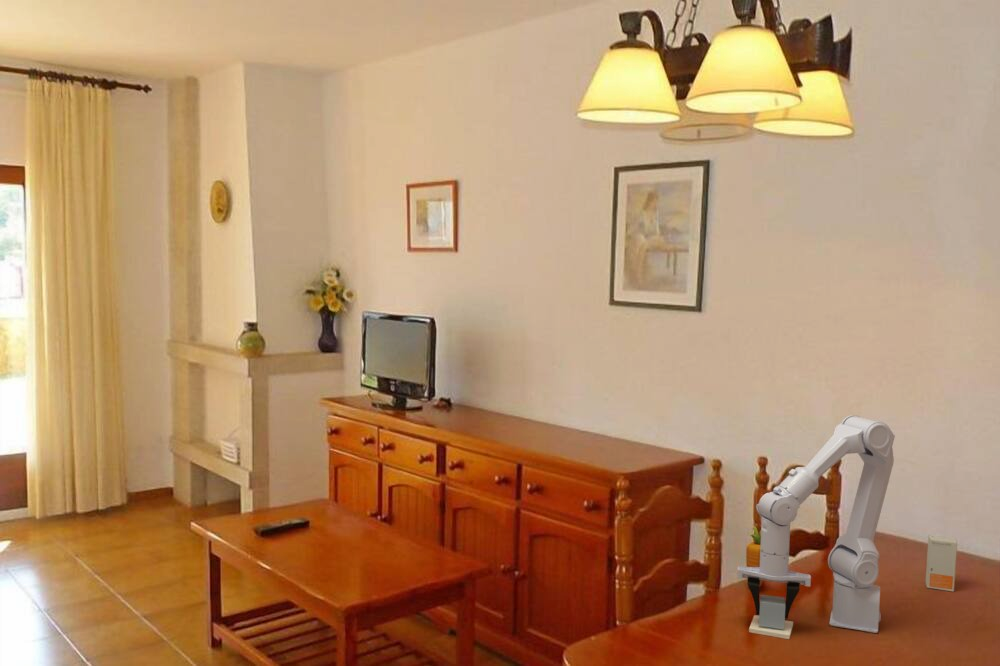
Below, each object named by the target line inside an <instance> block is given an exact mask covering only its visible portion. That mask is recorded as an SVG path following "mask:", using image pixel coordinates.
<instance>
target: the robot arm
mask: <svg viewBox="0 0 1000 666" xmlns="http://www.w3.org/2000/svg"><path fill="white" fill-rule="evenodd" d="M895 438H896V437H895V434H894V432H893V431H892V430H891V428H890V427H889V426H888V424H887V423H886V422H884V421H880V420H879V421H877V420H873V419H869V418H864V417H861V416H859V415H855V414H851V415H848V416H845V418H843V420H842V421H841V423H838V425H836V426H835V428H834V432H833V434H832V435H831V436H830V438H829V439H828V440H827V441H826V443H825V444H824V445H823V446H822V447H821V448H820V449H819V451H817V453H816V454H815V455H814V456H813V457H812V458H811V460H809V462H808V463H807V465H805V466H798V467H795V469H794V468H792V469H790V470H789V471H788V475H787V476H786V477H785V478H784V479H783V481H781V483H780V484H778V485H776V486H774V488H773V491H770V492H766V493H765V494H762V496H761V497H760V499H759V501H758V503H757V504H756V506H755V508H756V512H757V514H758V515H759V516H760V524H761V527H760V528H761V529H760V530H761V546H760V567H747V566H737V573H736V574H737V577H736V578H737V579H740V580H743V579H747V587H748V589H749V591H750V593H751V596H752V599H753V602H754V608H755V615H756V616H759V614H760V590H761V589H760V588H761V586H760V580H763V581H767V582H776V583H786V587H785V589H786V591H785V619H786V620H788V619H789V614H790V611H791V608H792V605H793V603H794V601H795V598H796V597H797V596H798V593H799V592H800V587H801V585H803V586H805V587H809V588H810V587H811V581H812V576H811V574H808V573H802V572H797V571H792V570H789V567H790V564H789V563H790V536H791V523H792V522H794V521H795V520H796V518H797V516H798V510H799V509H800V506H801V505H802V504H803V503H804V502H805V501H806V500H807V499H808V498H809V497H810V496H812V494H813V493H814V492H815V490H817V489H818V488H819V480H820V478H821V477H822V476H823V475H824V474H825V473H827V472H828V471H829V469H831V468H832V467H833V466H835V464H837V463H838V462H839V461H840V460H841V459H842V458H844V457H845V456H846V455H848V454H849V455H851V454H858V456H859V457H860V459H861V460H862V462H863V466H862V470H861V475H860V478H859V481H858V485H857V490H856V493H855V498H854V501H853V504H852V509H851V513H850V516H849V521H848V524H847V528H846V532H845V534H842V535H841V536H839V537H837V539H836V541H835V545H834V546H833V548H832V549H831V550H830V552H829V554H828V557H827V564H828V567H829V569H830V570H831V571H832V572H833V573H832V577H833V579H834V580H833V593H832V594H833V597H832V599H833V600H832V610H831V611H830V616H829V617H830V619H829V625H830V626H831V627H838V628H845V629H850V630H854V631H855V630H856V631H862V632H868V633H875V634H877V633H879V623H880V622H881V617H882V616H881V615H882V614H881V612H880V602H881V601H880V600H881V599H880V598H881V586H880V585H876V584H874V583H875V582H876V581H877V579H878V577H879V573H880V569H879V558H880V552H879V551H878V549H877V547H876V545H875V543H874V540H875V539H874V538H875V535H876V532H877V528H878V524H879V520H880V516H881V513H882V508H883V505H884V500H885V497H886V494H887V489H888V485H889V482H890V478H891V476H892V470H893V466H894V461H895V460H894V459H895V458H894V452H893V450H894V449H893V444H894V441H895Z"/></svg>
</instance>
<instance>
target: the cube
mask: <svg viewBox="0 0 1000 666" xmlns="http://www.w3.org/2000/svg"><path fill="white" fill-rule="evenodd" d="M759 600H760V614H759V615H758V616H759V626H762V627H769V628H777V629H784V625H785V603H786V597H783V596H776V595H767V594H759Z"/></svg>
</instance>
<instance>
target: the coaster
mask: <svg viewBox="0 0 1000 666" xmlns="http://www.w3.org/2000/svg"><path fill="white" fill-rule="evenodd" d="M793 628H794V621H793V620H787V619H786V620H785V625H784V629H777V628H769V627H762V626H759V615H756V614H754V615H753V617H752V620H751V623H750V626H749V628H748V632H749V633H750V634H751V633H752V634H758V635H763V636H768V637H770V636H771V637H774V638H775V637H776V638H781V639H786V640H790V638H791V636H792V635H791V634H792V632H793Z"/></svg>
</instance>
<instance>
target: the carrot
mask: <svg viewBox="0 0 1000 666" xmlns="http://www.w3.org/2000/svg"><path fill="white" fill-rule="evenodd" d="M752 530H753V532H754V533H750V534H749V535H750V537H752V539H753V541H752V542H750V543H748V544H747V546H746V549H745V551H746V552H745V553H746V554H745V555H746V556H745V559H746V560H745V561H746V563H745V564H746V567H760V546H761V529H760V530H759V532H758V528H757V527H756V526H753V527H752ZM763 582H764V580H760V587H761V586H762V584H763Z"/></svg>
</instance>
